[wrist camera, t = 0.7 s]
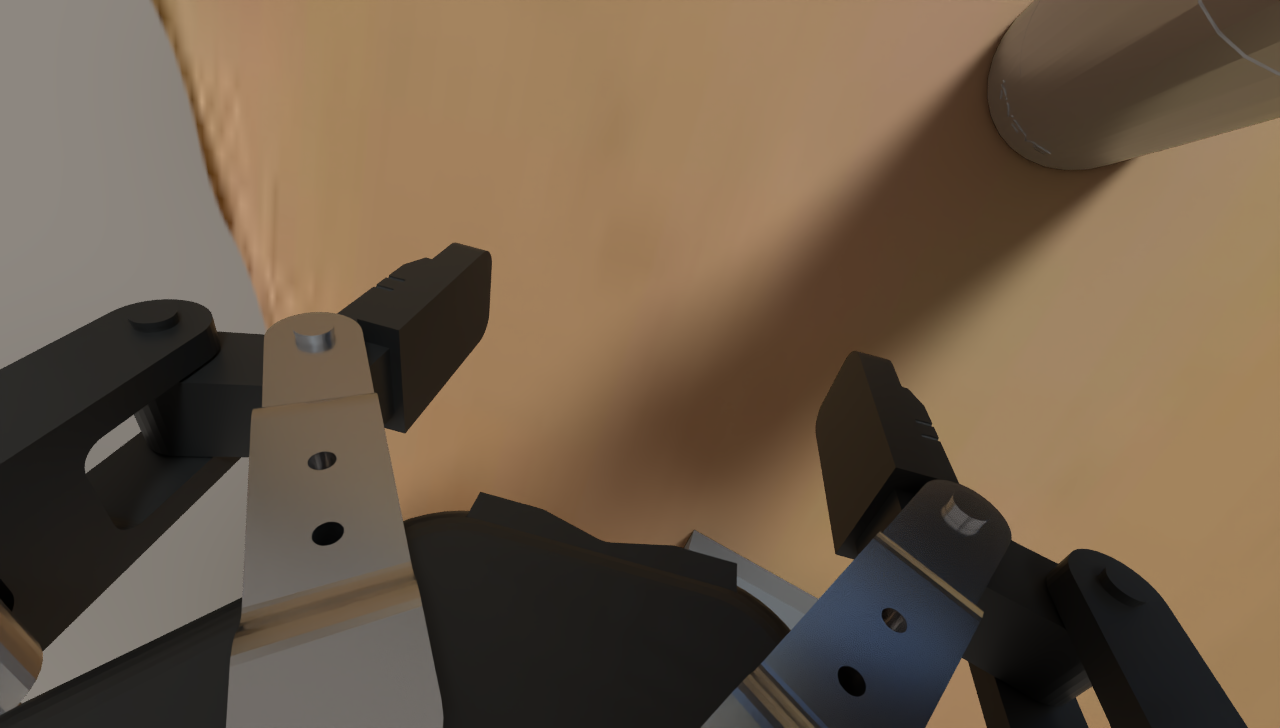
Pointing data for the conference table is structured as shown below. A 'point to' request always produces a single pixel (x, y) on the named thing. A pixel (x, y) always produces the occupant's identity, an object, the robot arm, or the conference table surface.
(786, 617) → the console
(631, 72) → the conference table surface
